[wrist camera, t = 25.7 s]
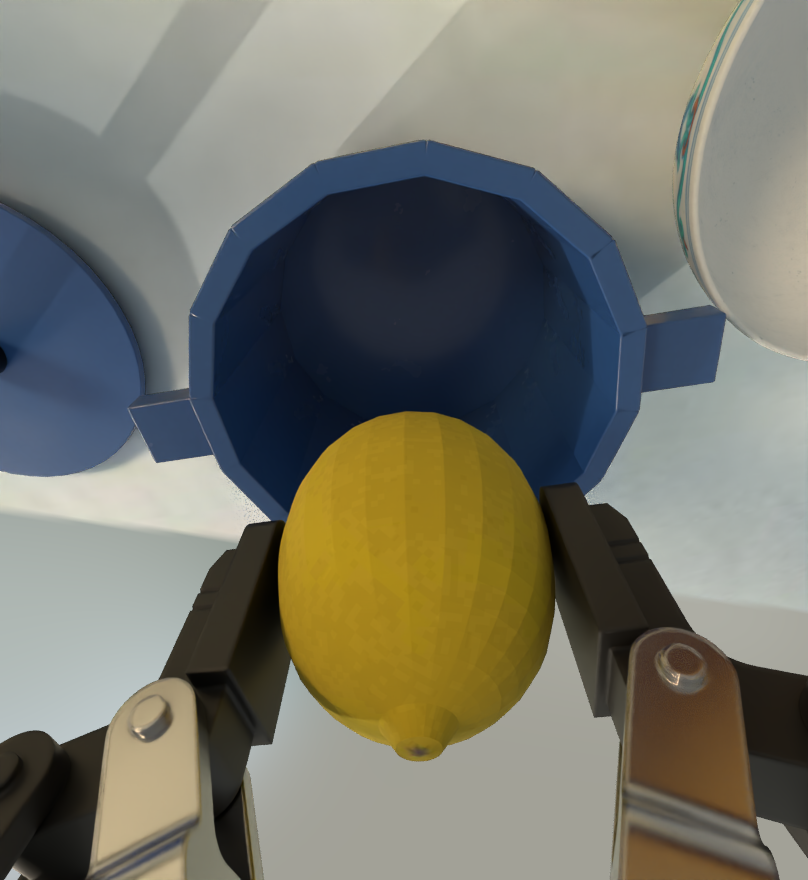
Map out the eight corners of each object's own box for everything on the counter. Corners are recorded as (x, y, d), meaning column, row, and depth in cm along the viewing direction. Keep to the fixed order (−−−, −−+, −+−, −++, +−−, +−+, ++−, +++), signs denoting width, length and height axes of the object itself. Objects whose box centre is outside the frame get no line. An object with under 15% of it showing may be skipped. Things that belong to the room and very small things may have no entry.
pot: (169, 189, 22) (8, 222, 13) (621, 99, 20) (790, 66, 11) (269, 454, 30) (209, 590, 21) (606, 406, 28) (700, 532, 19)
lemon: (541, 383, 13) (699, 667, 6) (476, 538, 15) (531, 851, 9) (330, 336, 12) (229, 592, 5) (302, 507, 15) (214, 818, 8)
